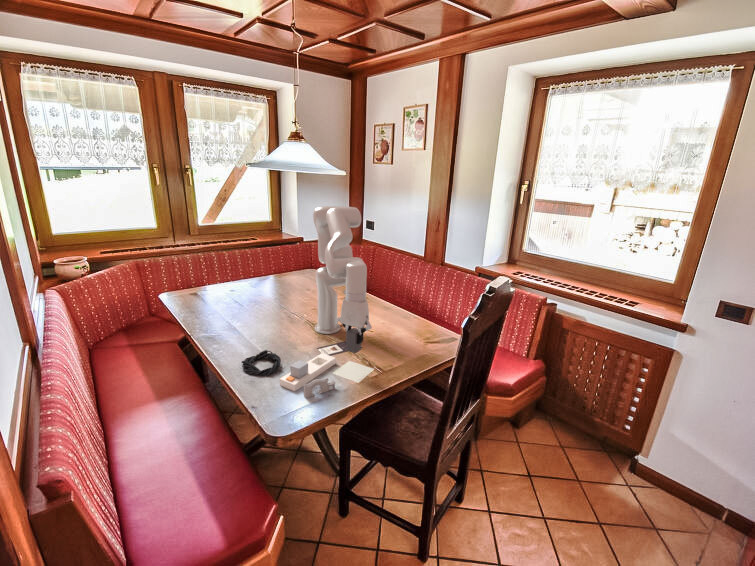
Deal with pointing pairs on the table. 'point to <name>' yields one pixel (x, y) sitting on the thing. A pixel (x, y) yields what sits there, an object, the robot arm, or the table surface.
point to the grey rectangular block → (352, 341)
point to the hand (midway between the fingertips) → (354, 340)
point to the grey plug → (299, 369)
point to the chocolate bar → (334, 348)
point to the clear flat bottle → (313, 386)
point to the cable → (271, 356)
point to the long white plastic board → (309, 372)
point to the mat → (353, 371)
